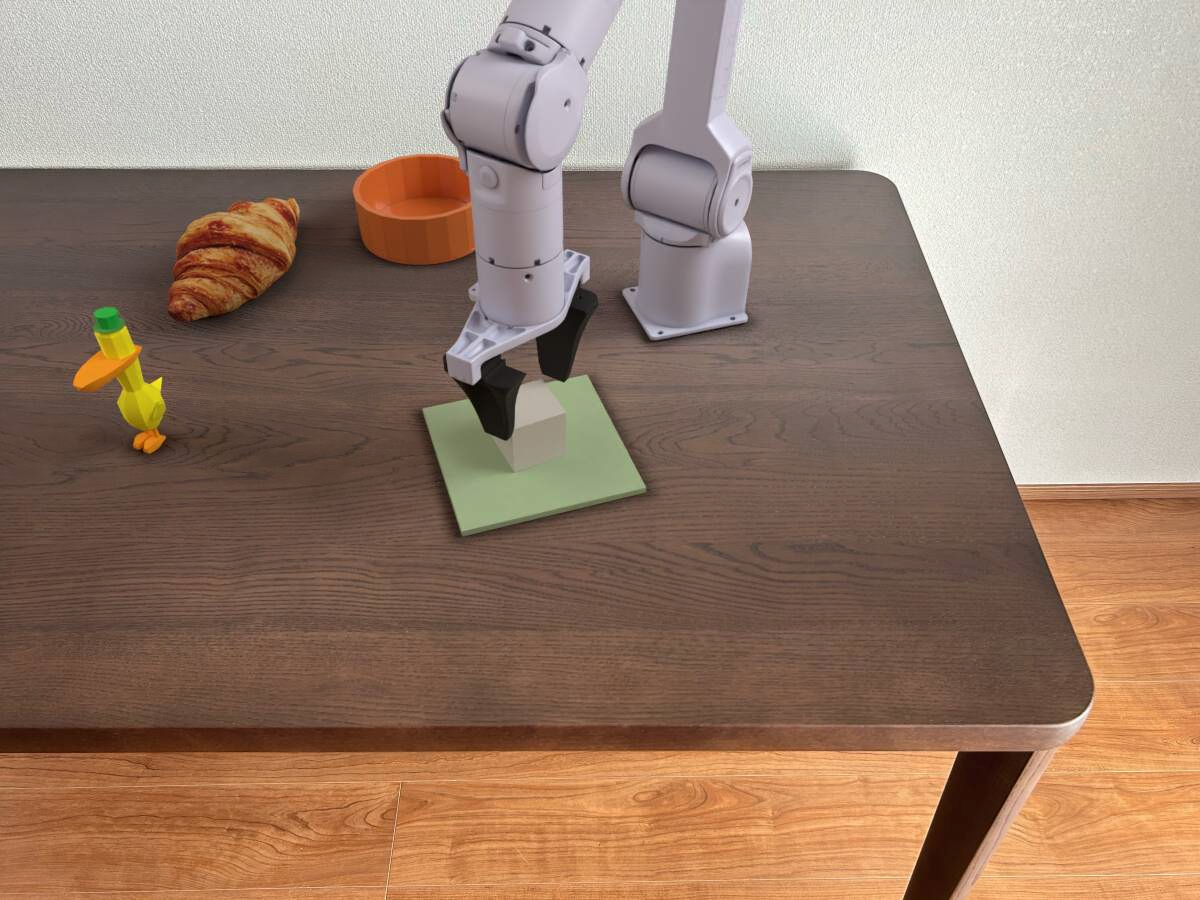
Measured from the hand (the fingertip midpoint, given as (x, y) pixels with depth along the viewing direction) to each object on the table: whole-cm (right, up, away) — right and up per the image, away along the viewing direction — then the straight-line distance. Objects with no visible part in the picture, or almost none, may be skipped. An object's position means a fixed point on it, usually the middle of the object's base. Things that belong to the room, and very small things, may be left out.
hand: (527, 404), depth 72 cm
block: (0, -3, +3) cm, 4 cm away
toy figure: (-30, -3, +3) cm, 30 cm away
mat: (0, -4, +3) cm, 5 cm away
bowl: (-12, +19, +27) cm, 35 cm away
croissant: (-28, +13, +21) cm, 38 cm away
